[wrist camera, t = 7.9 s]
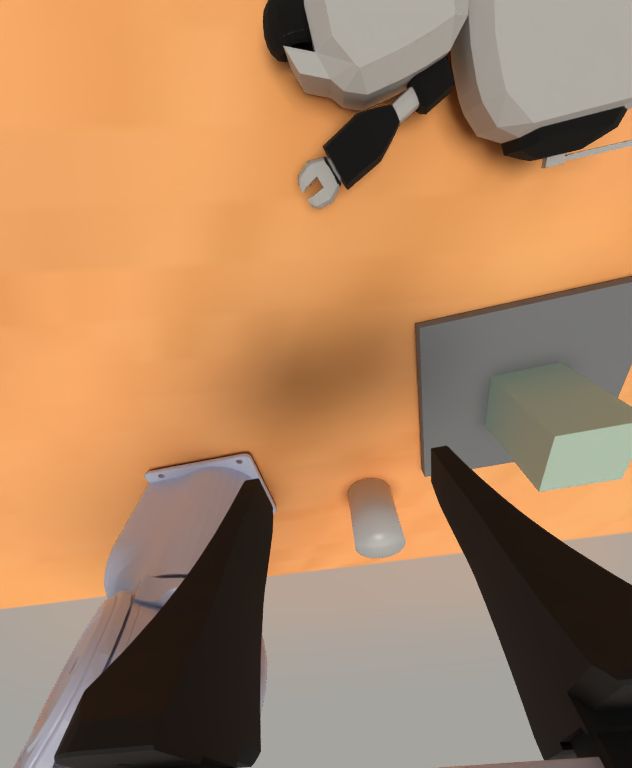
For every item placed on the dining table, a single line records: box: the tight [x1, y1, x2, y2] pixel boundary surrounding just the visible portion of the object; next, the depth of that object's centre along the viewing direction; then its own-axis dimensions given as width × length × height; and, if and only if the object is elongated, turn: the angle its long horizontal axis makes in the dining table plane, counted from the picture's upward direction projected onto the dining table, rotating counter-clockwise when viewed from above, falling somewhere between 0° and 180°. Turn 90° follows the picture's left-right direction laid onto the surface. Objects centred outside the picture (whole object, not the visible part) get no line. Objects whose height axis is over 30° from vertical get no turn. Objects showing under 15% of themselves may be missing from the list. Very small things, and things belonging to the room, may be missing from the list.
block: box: [486, 362, 632, 492], centre depth 18 cm, size 4×4×6 cm
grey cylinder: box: [348, 478, 405, 558], centre depth 25 cm, size 4×4×5 cm
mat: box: [416, 276, 632, 477], centre depth 21 cm, size 14×14×1 cm
